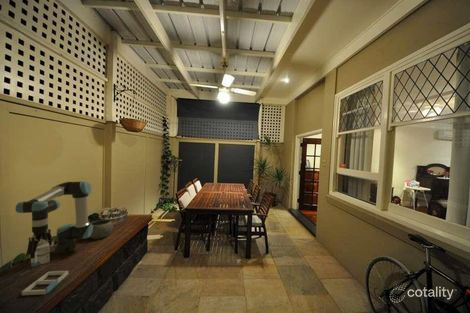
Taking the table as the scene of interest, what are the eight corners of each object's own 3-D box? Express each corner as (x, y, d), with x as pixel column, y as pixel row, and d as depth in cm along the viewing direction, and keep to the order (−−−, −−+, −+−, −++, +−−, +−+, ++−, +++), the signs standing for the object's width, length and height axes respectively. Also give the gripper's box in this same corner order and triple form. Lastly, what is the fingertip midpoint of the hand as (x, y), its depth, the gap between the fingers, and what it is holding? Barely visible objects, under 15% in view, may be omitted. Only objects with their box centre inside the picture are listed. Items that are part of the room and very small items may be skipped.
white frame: (48, 274, 145) (48, 270, 144) (69, 273, 146) (69, 269, 146) (21, 295, 124) (21, 289, 124) (46, 294, 126) (46, 288, 126)
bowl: (117, 232, 219) (117, 219, 219) (100, 241, 197) (100, 227, 196) (100, 230, 223) (100, 217, 223) (81, 239, 201) (81, 225, 200)
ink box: (31, 267, 125) (31, 245, 124) (30, 264, 128) (30, 242, 127) (49, 261, 131) (49, 240, 131) (48, 259, 135) (48, 238, 134)
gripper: (47, 219, 139) (48, 249, 140) (17, 232, 118) (17, 268, 118) (59, 219, 140) (59, 249, 141) (31, 231, 118) (31, 267, 119)
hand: (40, 258), depth 130 cm, fingers closed on ink box, 9 cm apart
